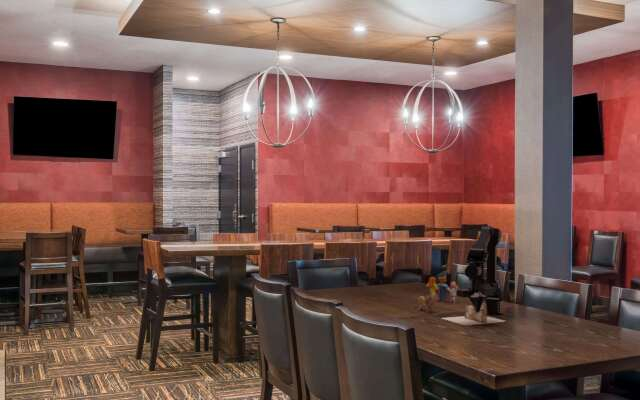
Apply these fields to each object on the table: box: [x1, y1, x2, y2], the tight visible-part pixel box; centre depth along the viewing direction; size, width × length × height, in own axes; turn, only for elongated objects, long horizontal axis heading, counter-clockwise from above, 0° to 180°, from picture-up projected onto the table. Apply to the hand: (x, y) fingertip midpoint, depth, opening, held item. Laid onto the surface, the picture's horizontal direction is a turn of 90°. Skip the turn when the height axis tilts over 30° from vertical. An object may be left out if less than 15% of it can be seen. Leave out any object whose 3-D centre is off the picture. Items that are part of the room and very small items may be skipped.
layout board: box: [440, 315, 506, 326], centre depth 304 cm, size 22×17×1 cm
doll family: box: [425, 276, 460, 304], centre depth 357 cm, size 21×10×13 cm, turn 34°
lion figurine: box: [414, 293, 439, 313], centre depth 328 cm, size 15×5×9 cm, turn 36°
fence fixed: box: [469, 302, 486, 309], centre depth 310 cm, size 9×2×6 cm, turn 114°
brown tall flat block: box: [464, 304, 488, 322], centre depth 303 cm, size 13×2×6 cm, turn 28°
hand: (477, 312), depth 298 cm, fingers closed
